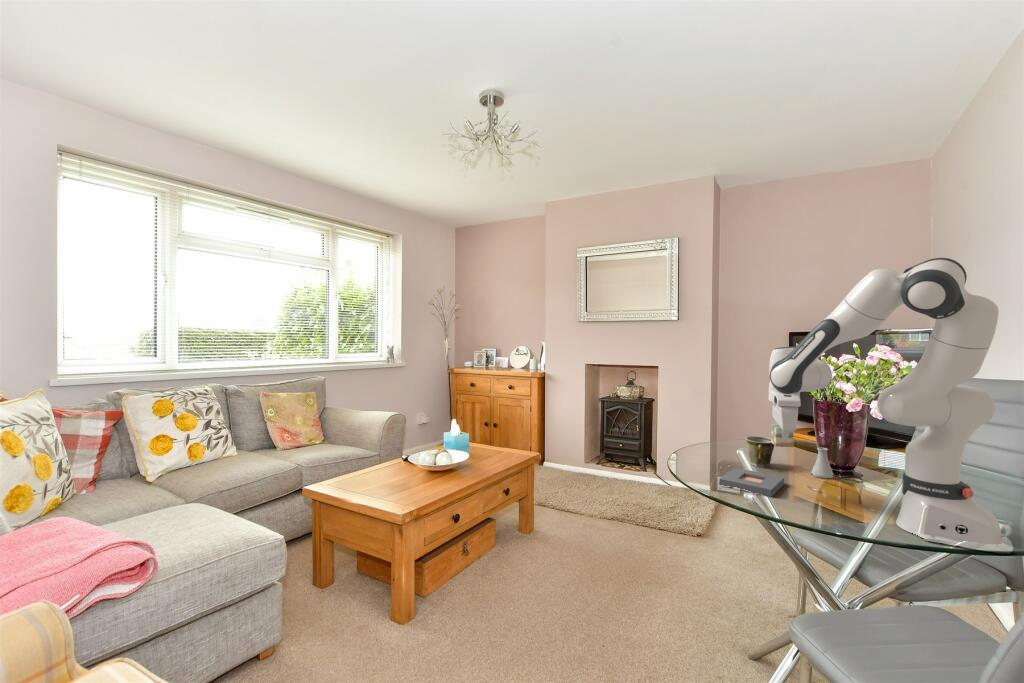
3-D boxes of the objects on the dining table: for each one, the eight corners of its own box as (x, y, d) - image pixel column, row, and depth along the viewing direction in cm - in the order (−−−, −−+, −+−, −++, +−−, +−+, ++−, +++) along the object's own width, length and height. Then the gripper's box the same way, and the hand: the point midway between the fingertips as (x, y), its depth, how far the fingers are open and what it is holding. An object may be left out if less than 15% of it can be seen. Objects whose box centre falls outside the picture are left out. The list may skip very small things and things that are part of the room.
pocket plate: (784, 484, 164) (784, 477, 163) (771, 497, 152) (771, 489, 152) (735, 474, 174) (735, 467, 174) (719, 485, 163) (719, 478, 163)
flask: (810, 471, 176) (810, 444, 176) (833, 474, 173) (834, 447, 172) (810, 477, 170) (811, 449, 170) (835, 480, 166) (835, 452, 166)
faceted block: (792, 447, 153) (793, 428, 153) (775, 446, 154) (776, 428, 154) (787, 442, 158) (788, 425, 157) (771, 442, 159) (771, 424, 159)
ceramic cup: (745, 459, 191) (745, 435, 191) (773, 463, 187) (774, 437, 187) (745, 469, 180) (745, 443, 179) (775, 472, 175) (776, 445, 175)
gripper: (767, 390, 166) (767, 429, 167) (778, 401, 147) (777, 445, 147) (788, 391, 164) (787, 431, 164) (802, 402, 144) (800, 447, 145)
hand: (782, 438), depth 156 cm, fingers closed on faceted block, 5 cm apart
